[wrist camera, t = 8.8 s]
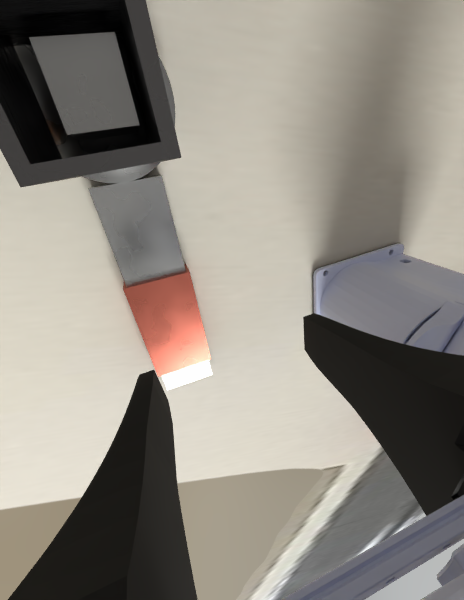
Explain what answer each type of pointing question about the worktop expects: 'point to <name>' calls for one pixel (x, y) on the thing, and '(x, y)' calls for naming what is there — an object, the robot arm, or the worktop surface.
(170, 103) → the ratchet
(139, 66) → the hollow square tube
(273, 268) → the worktop surface
